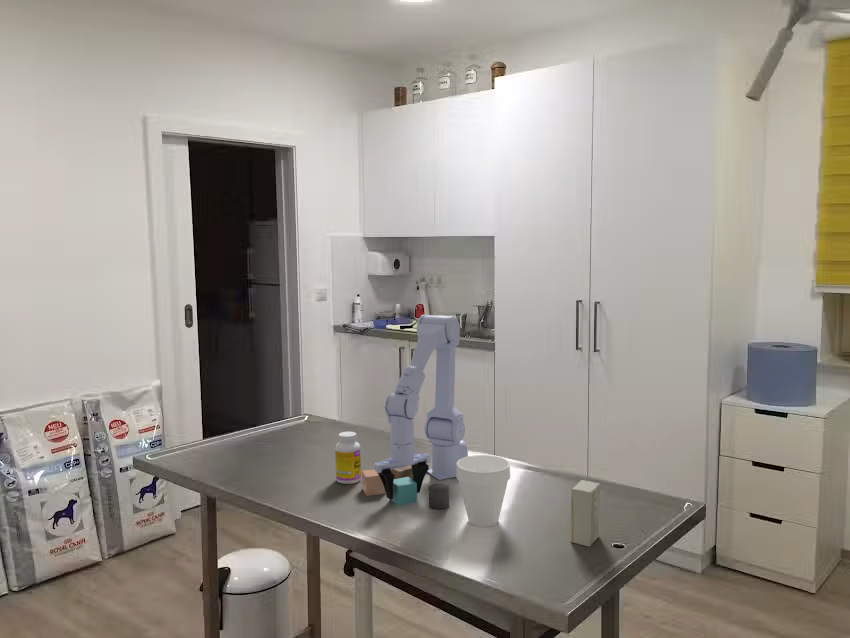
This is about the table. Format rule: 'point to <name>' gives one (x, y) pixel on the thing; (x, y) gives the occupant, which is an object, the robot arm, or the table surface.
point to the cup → (483, 487)
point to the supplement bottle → (348, 459)
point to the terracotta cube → (372, 483)
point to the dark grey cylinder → (438, 496)
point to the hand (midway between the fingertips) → (403, 495)
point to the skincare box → (585, 512)
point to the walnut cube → (402, 472)
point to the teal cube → (404, 491)
